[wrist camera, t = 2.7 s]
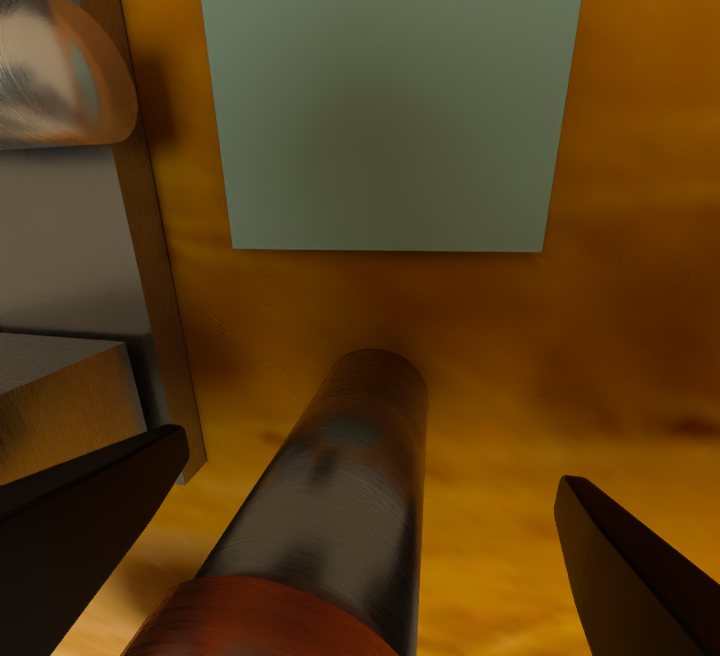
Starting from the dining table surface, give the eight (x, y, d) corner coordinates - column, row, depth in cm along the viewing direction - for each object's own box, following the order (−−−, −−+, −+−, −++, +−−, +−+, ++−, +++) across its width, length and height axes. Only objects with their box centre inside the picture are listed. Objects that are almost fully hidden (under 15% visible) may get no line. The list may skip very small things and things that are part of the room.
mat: (240, 247, 10) (232, 248, 10) (194, -131, 7) (182, -149, 7) (537, 250, 8) (542, 252, 8) (610, -231, 6) (621, -259, 5)
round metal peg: (322, 438, 12) (30, 1023, 3) (317, 338, 10) (-158, 845, 2) (431, 452, 11) (414, 1247, 3) (438, 346, 10) (449, 1167, 1)
